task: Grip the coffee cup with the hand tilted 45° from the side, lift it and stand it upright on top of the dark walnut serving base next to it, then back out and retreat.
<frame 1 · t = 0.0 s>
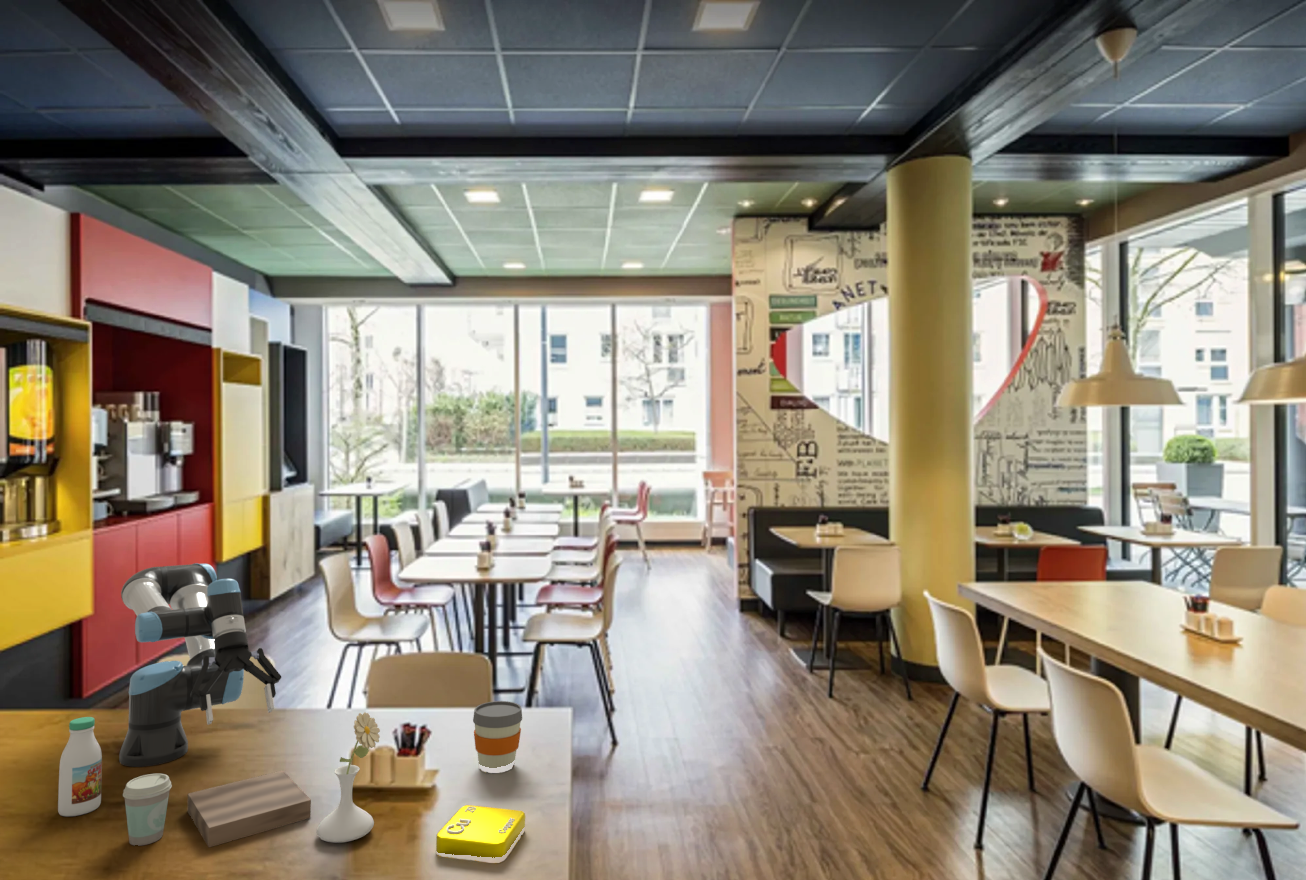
hand: (241, 716, 191), 15 cm above the table, tool tilted 35°, fingers open, 13 cm apart
element tile: (481, 844, 163), on the table
walnut base: (248, 814, 172), on the table
milk bottle: (79, 810, 173), on the table
reusable coffee cup: (496, 767, 201), on the table
flower in vase: (348, 834, 165), on the table
coffee cup: (146, 839, 161), on the table
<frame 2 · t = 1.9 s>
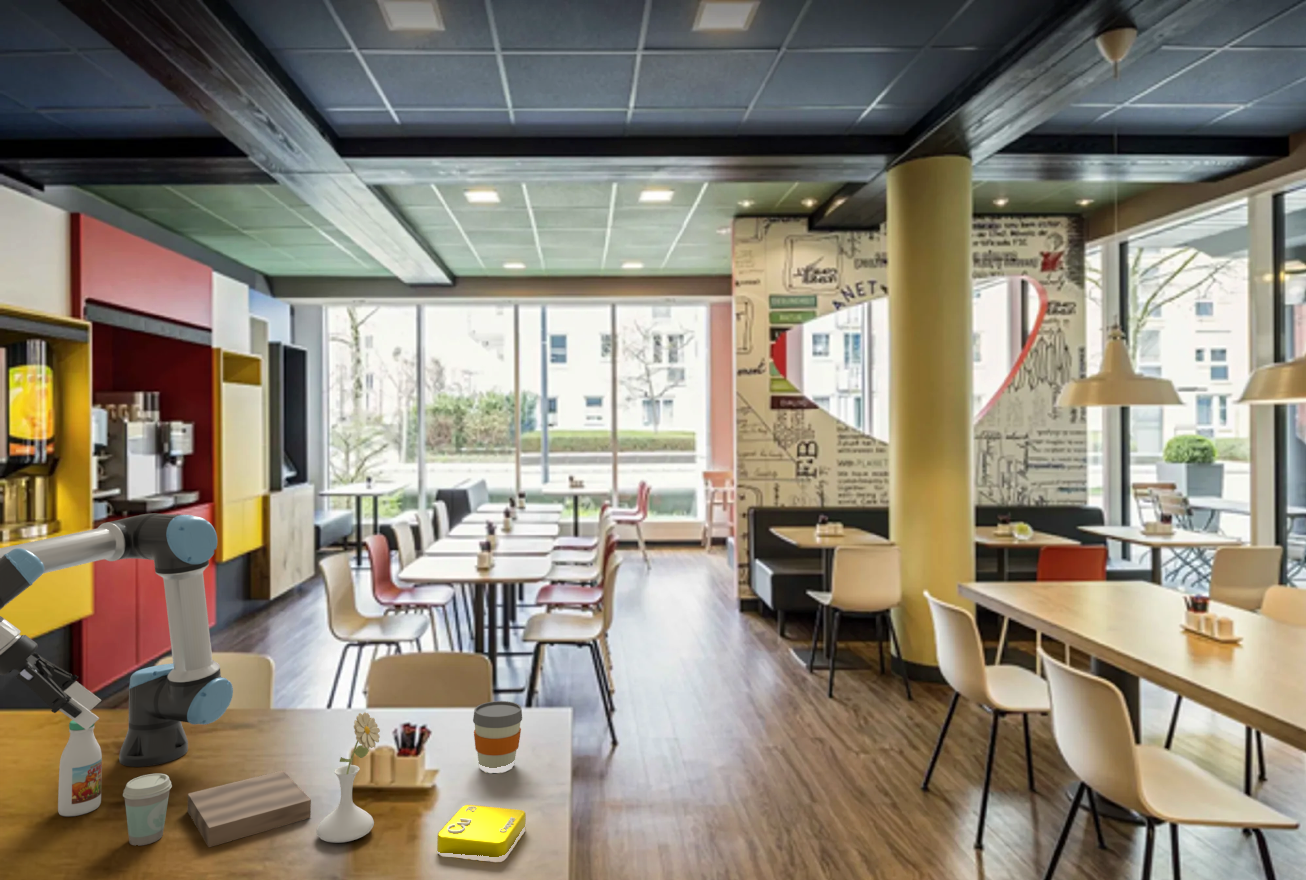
hand: (94, 714, 160), 26 cm above the table, tool tilted 45°, fingers open, 13 cm apart
nothing on the table moved.
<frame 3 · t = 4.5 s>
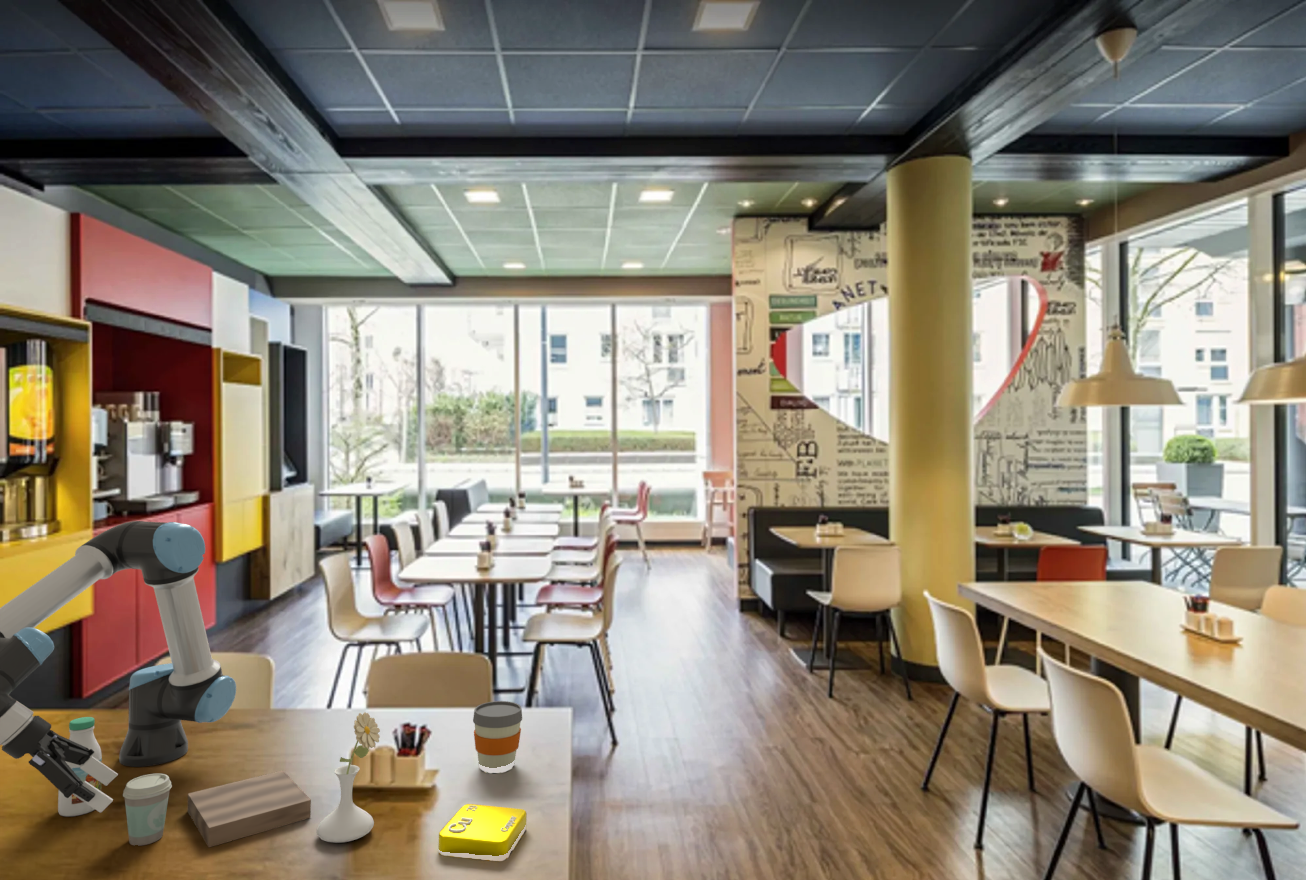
hand: (109, 792, 157), 11 cm above the table, tool tilted 45°, fingers open, 13 cm apart
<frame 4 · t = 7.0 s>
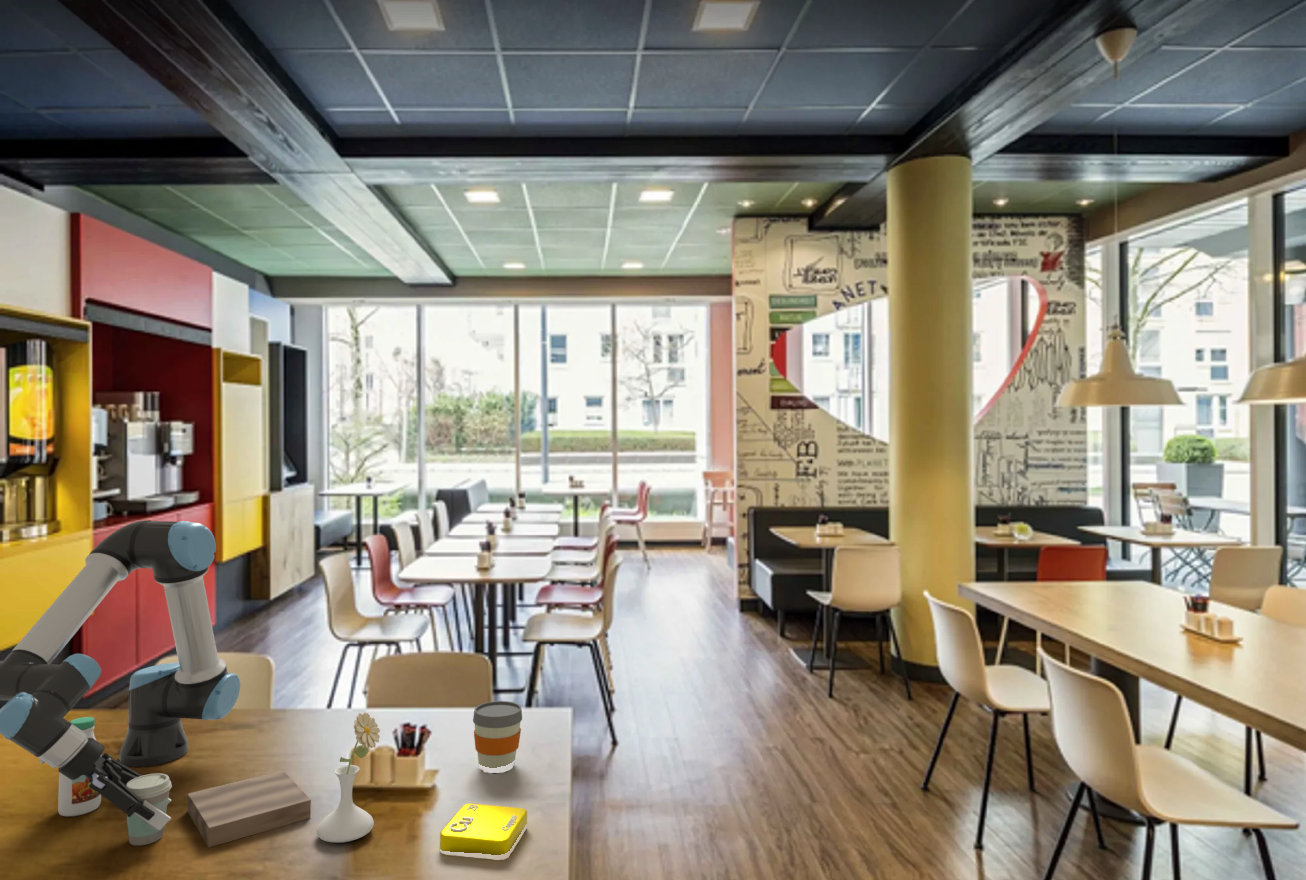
hand: (165, 814, 163), 4 cm above the table, tool tilted 45°, fingers closed on coffee cup, 8 cm apart
coffee cup: (146, 839, 161), on the table, touching gripper
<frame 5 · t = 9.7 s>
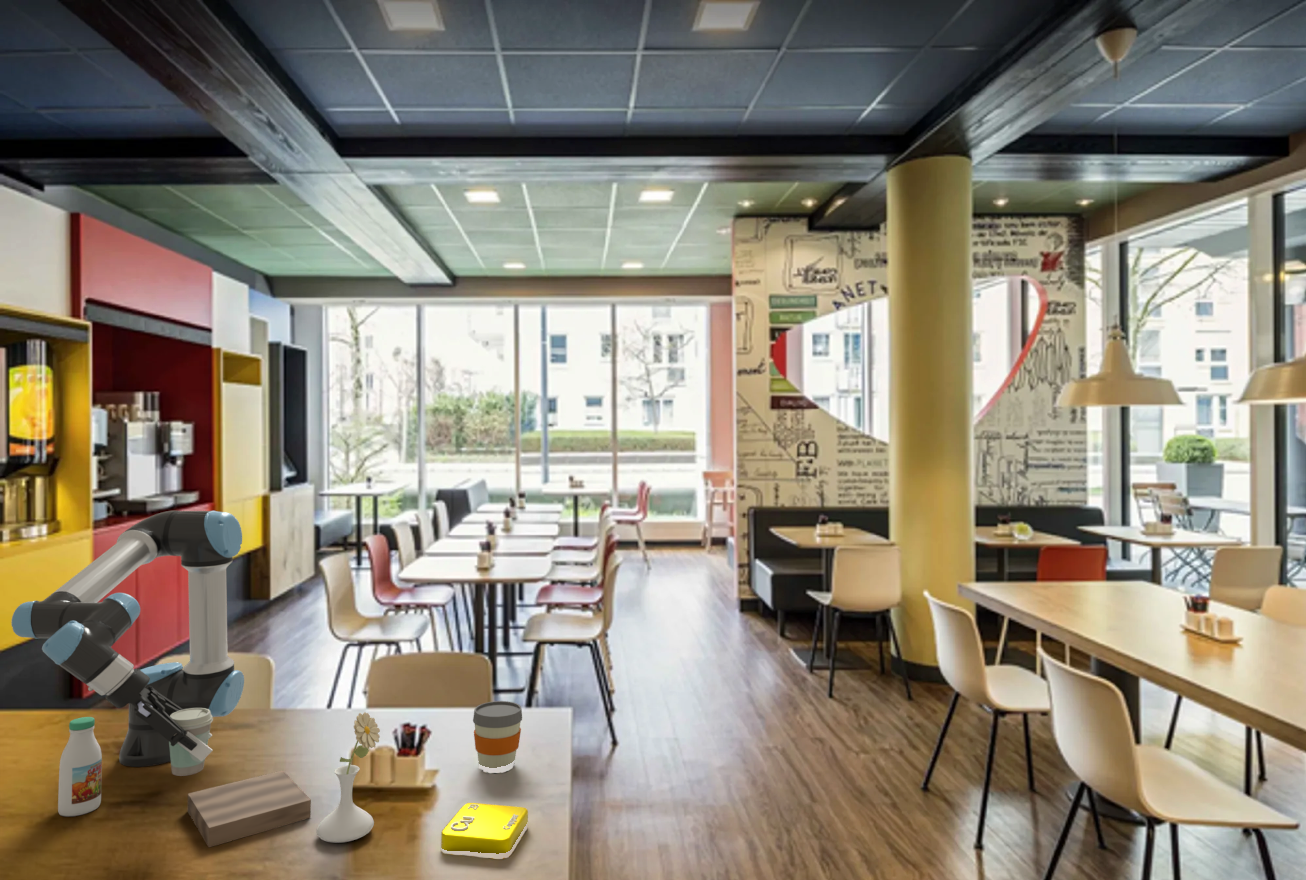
hand: (206, 747, 166), 17 cm above the table, tool tilted 45°, fingers closed on coffee cup, 8 cm apart
coffee cup: (187, 770, 165), point 13 cm above the table, touching gripper
when the fingers open (10 cm above the table, at t = 12.8 s): coffee cup drops 1 cm, resting on walnut base.
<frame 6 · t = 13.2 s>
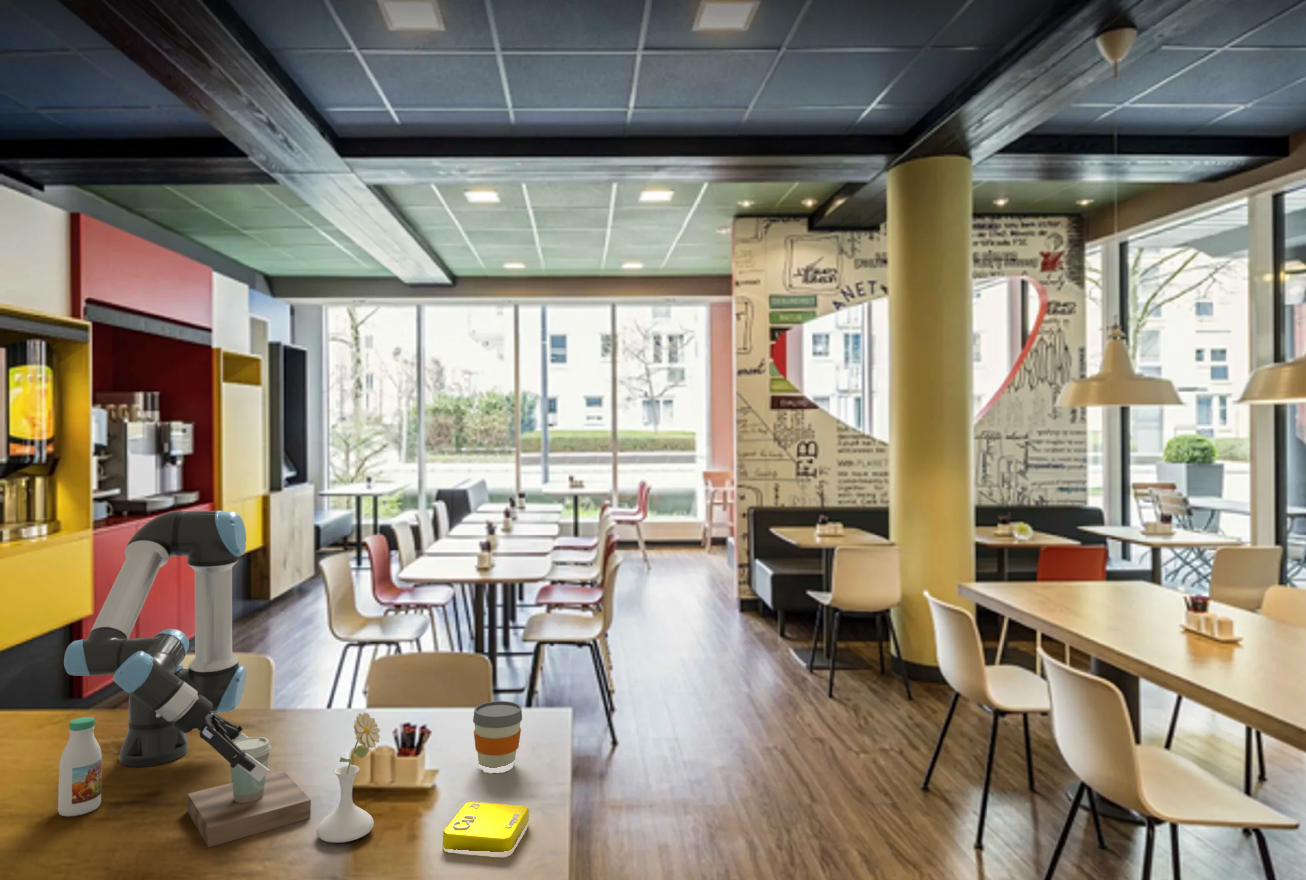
hand: (261, 764, 174), 11 cm above the table, tool tilted 45°, fingers open, 13 cm apart
coffee cup: (248, 797, 172), point 4 cm above the table, touching walnut base
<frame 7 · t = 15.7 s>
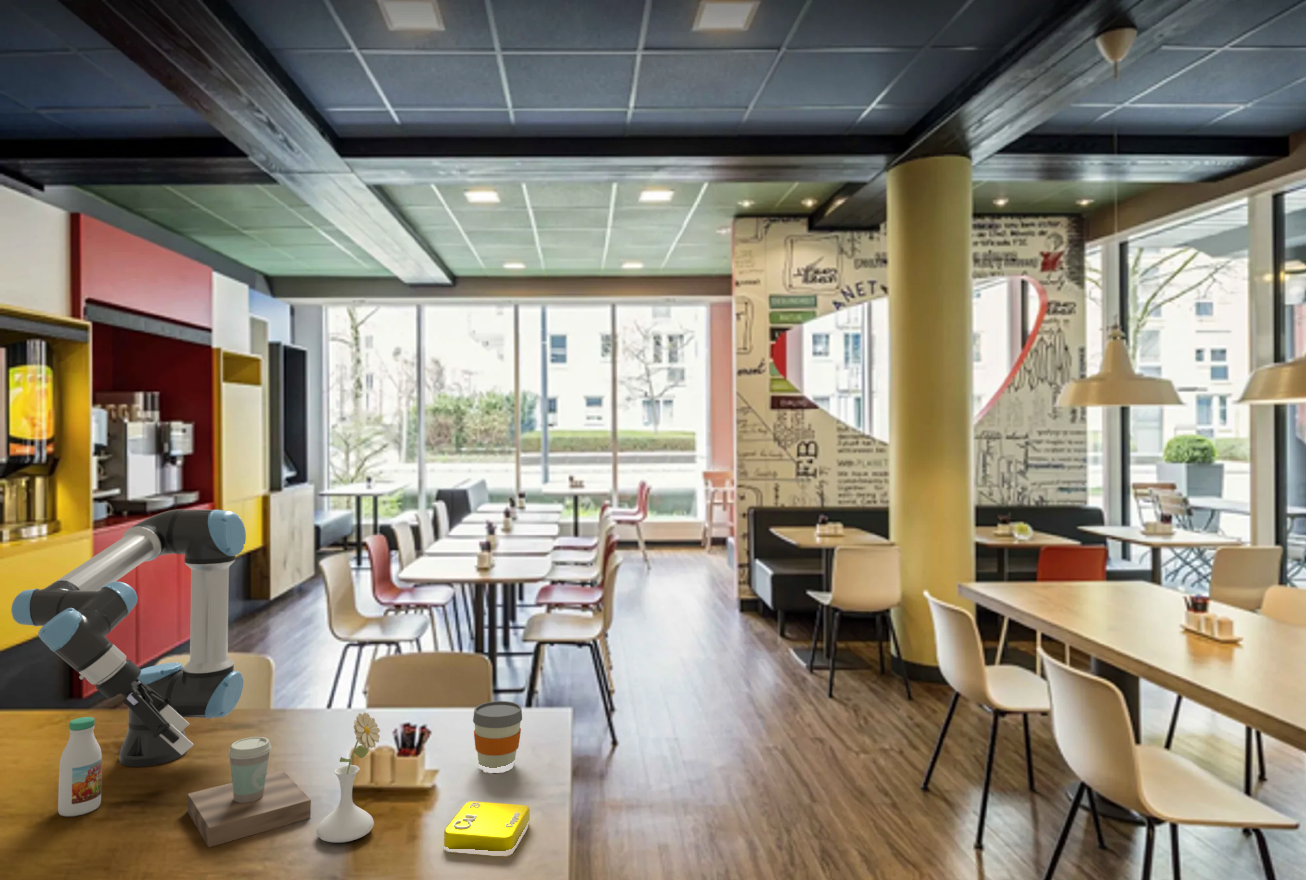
hand: (185, 738, 167), 19 cm above the table, tool tilted 40°, fingers open, 13 cm apart
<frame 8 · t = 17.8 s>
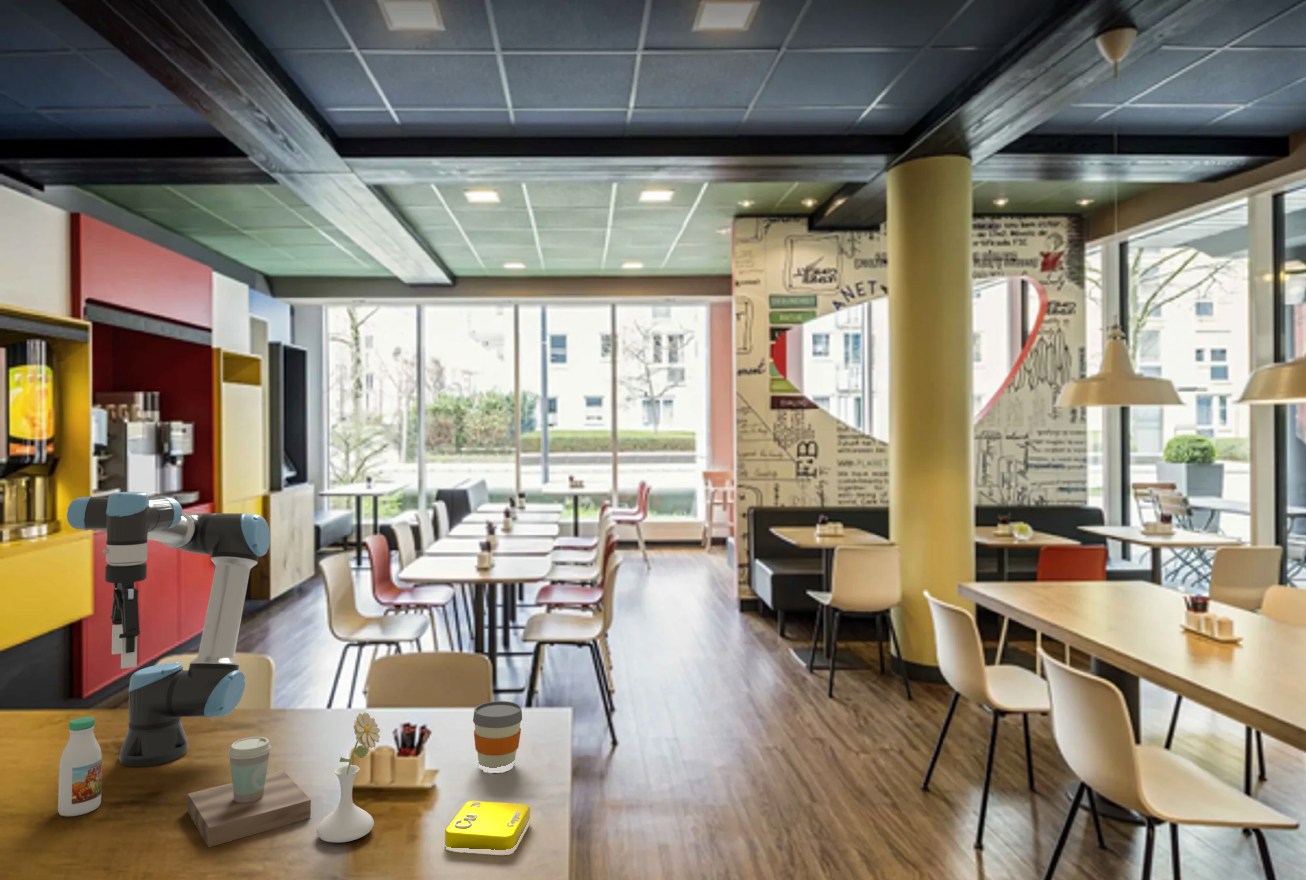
hand: (123, 660, 169), 35 cm above the table, tool pointing down, fingers open, 13 cm apart
at the end: coffee cup inside the target area on the walnut base (0.2 cm from its centre), point 3.8 cm above the walnut base's base; coffee cup tilted 0°; the gripper is holding nothing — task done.
